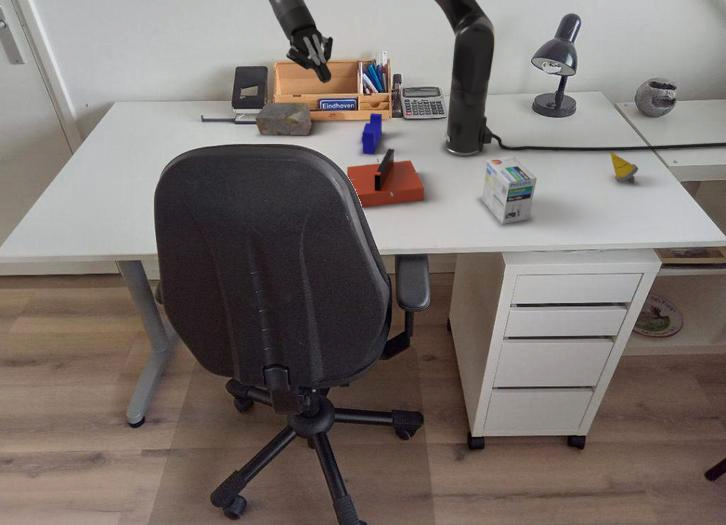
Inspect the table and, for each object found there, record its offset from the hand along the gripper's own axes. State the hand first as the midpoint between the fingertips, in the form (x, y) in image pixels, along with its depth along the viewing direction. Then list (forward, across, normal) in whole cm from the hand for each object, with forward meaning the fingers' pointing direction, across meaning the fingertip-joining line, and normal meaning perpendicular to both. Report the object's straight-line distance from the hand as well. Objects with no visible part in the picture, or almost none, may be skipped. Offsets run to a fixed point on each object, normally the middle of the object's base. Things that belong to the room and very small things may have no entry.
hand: (327, 81), depth 128 cm
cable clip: (+15, +14, +17) cm, 26 cm away
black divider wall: (+26, +1, -1) cm, 26 cm away
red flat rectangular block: (+29, +1, +2) cm, 29 cm away
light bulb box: (+46, +16, -16) cm, 51 cm away
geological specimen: (-2, +3, +34) cm, 34 cm away
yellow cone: (+54, +47, -23) cm, 75 cm away
